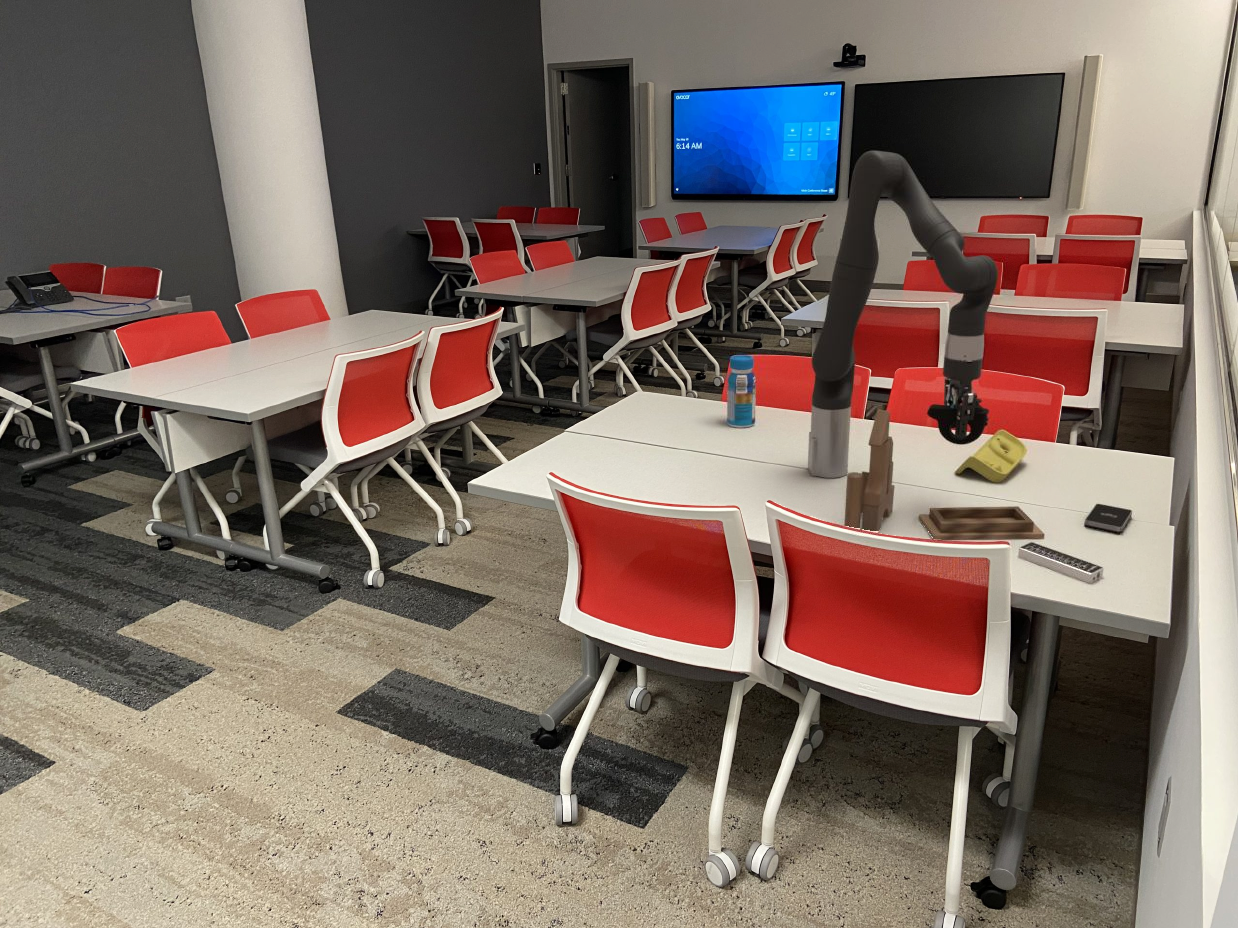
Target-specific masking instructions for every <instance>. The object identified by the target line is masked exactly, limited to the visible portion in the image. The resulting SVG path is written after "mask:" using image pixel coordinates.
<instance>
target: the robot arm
mask: <svg viewBox="0 0 1238 928" xmlns="http://www.w3.org/2000/svg"><path fill="white" fill-rule="evenodd" d="M881 197H884V198H885V197H887V198H888V199H890V201H892V202H894V203H895V204H896V205H898V206H899V208H900V209H901V210H902V212H904V214H905V216H906V218H907V220H908V223H909V227H910V229H911V232H912V234H913V237H914V238H915V240H916V241H917V242H918V244H919V245H920V246H921V247H922V248H923V250H924V251H925V252H926V253H927V254H928V255H929V256H930V257H931V259H932V260H933V262H934V264H935V266H936V270H938V273H939V275H940V277H941V279H942V281H943V284H944V285H945V286H946V287H947V288H948V289H950V290H951V291H952V292H954V293H956V294H959V295H960V294H961V295H962V297H961V300H960V301H959V302H957V303H956V304H953V306H952V307H951V308H950V309H949V315H948V325H947V327H948V328H947V336H946V340H945V345H944V356H943V367H942V376H944V389H943V391H944V392H943V393H944V395H943V396H944V397H943V405H949V406H954V409H956V418H957V420H956V421H955V422H954V423H952V425H951V429H954V434H955V436H956V437H966V435H968V426H969V425H968V420H973V416H974V411H975V406H976V400H977V399H978V394H977V393H976V392H975V393H974V391H973V390H974V389H973V387H972V386H973V385H972V382H973V381H975V380H978V379H980V378H981V377H982V370H983V368H982V367H983V360H984V359H983V358H984V352H985V351H984V349H985V327H986V319H987V318H986V317H987V311H988V310H989V307H990V305H991V302H992V300H993V296H994V293H995V290H996V287H997V284H998V278H999V272H998V267H997V265H996V262H995V261H994V259H992V258H991V257H989V256H988V255H976V256H965V254H964V253H963V251H964V249H965V247H966V242H965V239H964V237H963V236H962V234H961V233H960V232H959V231H958V229H956V227H955V226H954V225H953V224H952V223H951V222H950V221H949V220H948V219H947V217H946V216H945V215H944V214H943V213H942V212H941V211H940V209H939V208H938V206H936V205H935V203H934V202H933V200H932V199H931V198H930V196H929V195H928V193H927V192H926V190H925V188H924V187H923V185H922V184H921V182H920V181H919V179H918V178H917V176H916V174H915V172H914V171H913V169H912V168H911V166H910V164H909V163H908V162H907V160H906V159H905V158H904V157H903V156H902V155H901V154H898V153H896V152H895V153H894V152H890V151H881V150H869V151H866V152H864V153H863V154H862V155H860V157H859V158H858V159H857V161H856V163H855V165H854V168H853V172H852V175H851V181H850V189H849V197H848V201H847V203H848V204H847V211H846V214H845V215H846V216H845V221H844V226H843V230H842V235H841V239H840V240H841V241H840V243H839V244H840V245H839V249H838V252H837V255H836V259H835V264H834V268H833V271H832V276H831V282H830V286H829V292H828V299H827V303H826V313H825V318H824V322H823V325H822V328H821V332H820V335H819V337H818V341H817V343H816V346H815V348H814V351H813V353H812V355H811V366H812V369H813V372H814V385H813V390H812V394H811V418H810V420H811V422H810V431H809V433H808V451H807V453H808V454H807V455H808V456H807V469H808V471H809V474H810V476H811V477H820V478H825V479H826V478H828V479H829V478H830V479H833V478H836V479H837V478H841V477H844V476H847V475H848V473H849V472H848V471H849V469H848V467H849V452H850V450H849V449H850V446H849V445H850V435H851V434H850V431H851V414H852V413H851V412H852V398H853V392H854V386H855V385H854V383H855V366H856V353H855V348H854V346H853V345H854V339H855V334H856V329H857V326H858V324H859V320H860V318H861V317H862V313H863V311H864V309H865V307H866V304H867V302H868V299H869V297H870V293H871V291H872V288H873V285H874V282H875V278H876V274H877V269H878V265H879V259H880V257H879V256H880V255H879V254H880V253H879V248H878V247H879V246H878V241H877V236H876V235H877V234H876V229H875V220H876V213H877V209H878V205H879V202H880V198H881ZM960 409H961V411H960ZM965 411H966V414H964V413H965Z"/></svg>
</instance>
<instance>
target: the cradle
mask: <svg viewBox="0 0 1238 928" xmlns="http://www.w3.org/2000/svg"><path fill="white" fill-rule="evenodd" d="M918 518H919V519H918V520H919V522H920V521H921V522H922V523H921V522H920V523H921V525H922V524H923V525H924V526H925V527H924V526H923V525H922V526H923V527H924V529H925V528H926V529H927V530H926V529H925V530H926V532H927V531H929V533H930V534H931V536H932V537H933V538H931V539H932V540H933V539H941V540H940V541H953V540H954V541H956V540H957V541H959V540H960V539H962V540H963V539H964V540H970V541H971V540H1025V539H1027V540H1030V539H1031V540H1033V539H1034V540H1036V539H1045V533H1044V532H1043V531H1042V529H1040V528H1039V527H1038V525H1037V524H1036V523H1035V521H1033V519H1031V518H1030V516H1028V514H1026V512H1025V511H1024V510H1022V509H1021V507H1020V506H974V507H973V506H970V507H969V506H967V507H966V506H964V507H959V506H958V507H957V506H956V507H954V506H953V507H929V513H925V514H923V513H922V514H921V513H920V514H918ZM929 533H928V534H929ZM931 536H930V537H931ZM960 541H961V540H960Z"/></svg>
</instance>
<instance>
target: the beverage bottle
mask: <svg viewBox="0 0 1238 928" xmlns="http://www.w3.org/2000/svg"><path fill="white" fill-rule="evenodd" d="M754 361H755V360H754V356H752V355H748V354H736V355H732V356H730V358H729V368H730V372H729V374H728V376H727V379H726V380H727V384H728V385H727V387H726V394H727V395H726V397H727V399H726V401H727V402H726V403H727V404H726V405H727V409H726V410H727V411H726V412H727V415H726V423H727V425H728V426H729V427H732V428H737V429H743V428H744V429H745V428H751V427H754V425H755V424H756V402H757V401H756V398H757V397H756V396H757V394H756V393H757V386H756V382H757V379H756V376H755V374H754V372H753V369H754V366H755V365H754V364H755V362H754Z"/></svg>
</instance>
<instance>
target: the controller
mask: <svg viewBox="0 0 1238 928" xmlns="http://www.w3.org/2000/svg"><path fill="white" fill-rule="evenodd" d="M982 401H983V400H982V399H980V398H977V400H976V406H975V411H974V416H973V420H968V426H969V428H970V430H969V433H967V435H966V437H956V436H955V432H953V431H952V428H951V425H952V423H954V422H955V421H956V420H957V418H956V409H954V406H949V405H944V404H935V403H934V404H930V406H929V408H928V409H927V412H926V415H927V416H928V417H929V418H931V419H933V420H936V421H937V427H938V432H939V433H940V435H941V437H943V439H945V440H946V441H947V442H949V443H951V444H954V445H968V444H971V443H974V442H975V441H976V440H978V439H979V438H980V437H981V435H983V432H984V431H985V428H986V427H988V425H989V419H990V417H988V414H989V413H990V410H989V409H988V408H985V407H983V406H982V405H980V404H981V403H982ZM960 411H961V409H960ZM964 414H966V411H965V413H964Z"/></svg>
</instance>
